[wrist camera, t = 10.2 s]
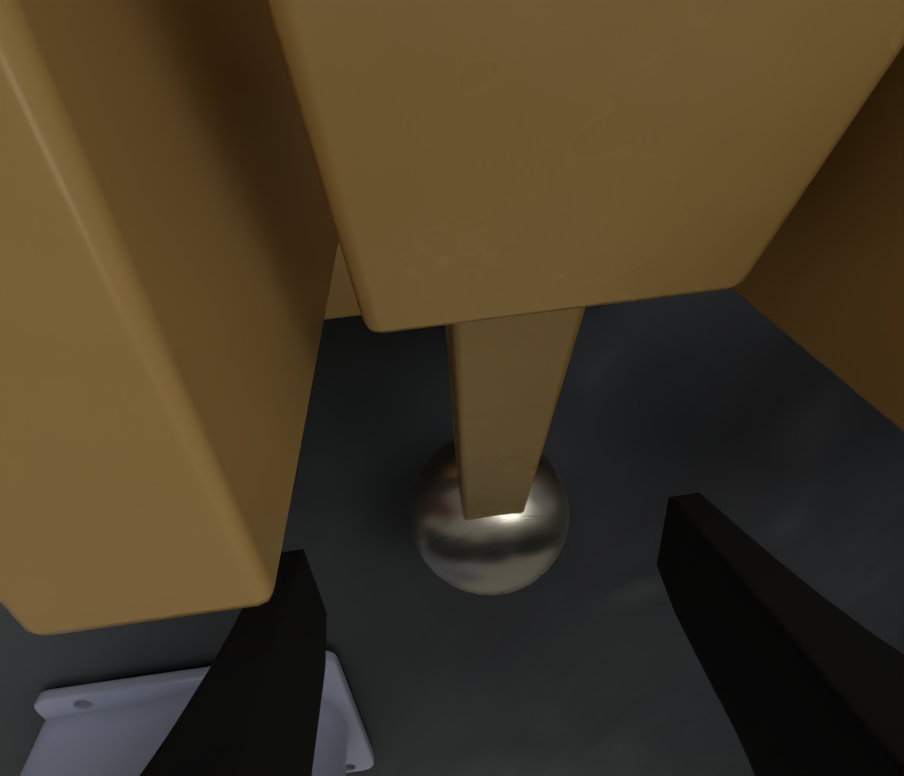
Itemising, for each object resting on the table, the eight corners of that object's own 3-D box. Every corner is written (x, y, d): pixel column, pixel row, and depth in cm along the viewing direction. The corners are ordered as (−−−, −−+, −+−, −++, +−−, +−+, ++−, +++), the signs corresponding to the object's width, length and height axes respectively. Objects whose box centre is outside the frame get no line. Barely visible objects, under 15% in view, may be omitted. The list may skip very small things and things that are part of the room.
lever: (541, 454, 14) (572, 593, 12) (409, 472, 14) (424, 614, 12) (921, -787, 2) (2378, -999, 1) (43, -730, 2) (-630, -789, 1)
